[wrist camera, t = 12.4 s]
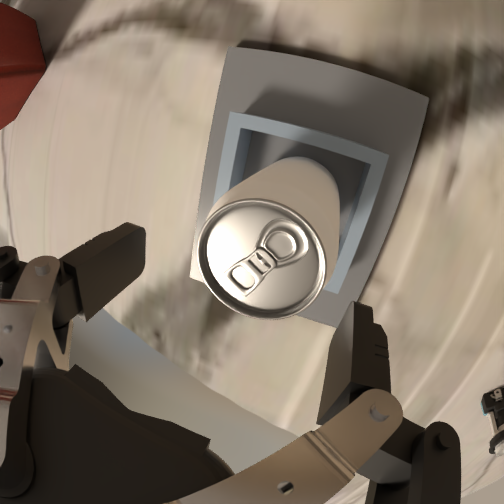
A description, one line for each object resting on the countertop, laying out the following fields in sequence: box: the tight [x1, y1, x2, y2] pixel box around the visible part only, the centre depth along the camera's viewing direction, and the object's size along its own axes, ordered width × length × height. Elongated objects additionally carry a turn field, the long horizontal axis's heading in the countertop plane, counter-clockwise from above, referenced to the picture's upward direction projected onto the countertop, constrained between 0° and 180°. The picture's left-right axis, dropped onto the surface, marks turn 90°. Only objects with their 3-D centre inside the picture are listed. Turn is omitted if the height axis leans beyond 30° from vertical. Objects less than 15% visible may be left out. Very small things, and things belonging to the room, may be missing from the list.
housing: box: [190, 46, 429, 328], centre depth 22 cm, size 22×16×4 cm
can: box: [197, 156, 340, 320], centre depth 17 cm, size 6×6×12 cm
